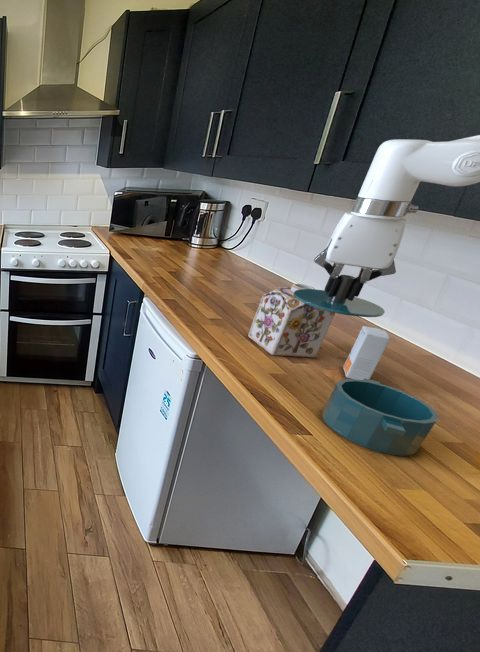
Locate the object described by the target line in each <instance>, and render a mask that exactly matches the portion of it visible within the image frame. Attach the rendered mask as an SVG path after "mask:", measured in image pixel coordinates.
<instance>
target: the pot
mask: <svg viewBox="0 0 480 652" xmlns="http://www.w3.org/2000/svg"><path fill="white" fill-rule="evenodd" d="M321 416H322V419H323V421H324V423H325V424H326V425H327V426H328V427H329V428H330V429H331V430H332V431H334V432H335V433H337V434H338V435H340V436H342V437H343V438H345V439H346V440H348V441H350V442H352V443H354V444H356V445H359V446H361V447H364V448H367V449H369V450H371V451H375V452H378V453H382V454H386V455H390V456H399V457H408V456H409V457H410V456H413V455H415V454H416V453H418V450H419V449H420V447H421V446H422V445H423V443H424V441H425V439H426V438H427V437H428V435H429V434H430V432H431V431H432V429H433V427H434V426H435V424H436V423H437V421H438V420H439V418H440V416H439V415H438V413H437V411H436V410H435V409H434V408H433V407H432V406H430V405H429V404H427V403H426V402H424V401H423V400H422V399H420V398H417V397H415V396H413V395H412V394H409V393H407V392H405V391H404V390H403V391H402V390H400V389H398V388H394V387H391V386H389V385H386V384H381V382H380V381H377V380H373V379H370V380H369V379H365V378H364V380H357V379H350V378H347V379H340V380H339V381H338V382H337V383H336V384H335V386H334V388H333V390H332V391H331V394H330V396H329V398H328V399H327V402H326V403H325V406H324V408H323V410H322V414H321Z"/></svg>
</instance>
